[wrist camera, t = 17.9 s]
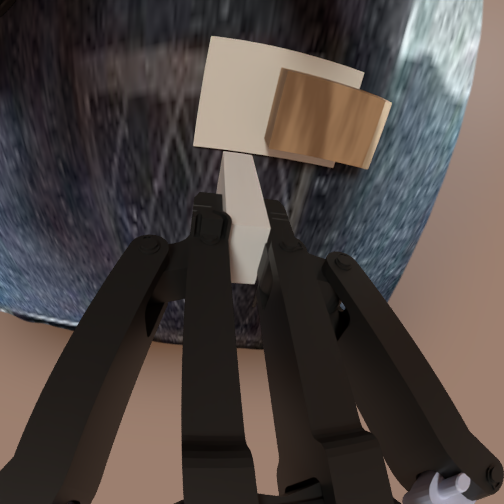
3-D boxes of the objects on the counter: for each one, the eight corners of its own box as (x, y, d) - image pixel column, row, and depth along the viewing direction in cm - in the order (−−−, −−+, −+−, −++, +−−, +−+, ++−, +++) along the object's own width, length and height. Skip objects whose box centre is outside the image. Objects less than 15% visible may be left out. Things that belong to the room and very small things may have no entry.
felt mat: (193, 144, 38) (193, 145, 38) (211, 36, 29) (211, 36, 29) (331, 166, 42) (333, 168, 42) (362, 71, 33) (364, 72, 33)
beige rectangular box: (268, 148, 35) (367, 169, 38) (288, 70, 29) (392, 103, 32) (264, 138, 38) (356, 157, 41) (281, 67, 32) (378, 95, 35)
